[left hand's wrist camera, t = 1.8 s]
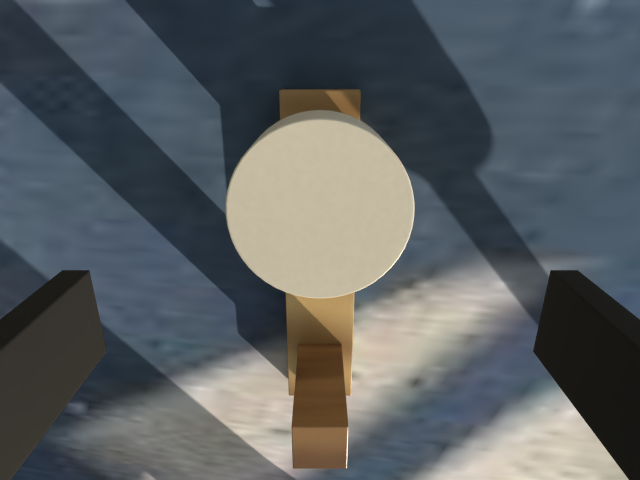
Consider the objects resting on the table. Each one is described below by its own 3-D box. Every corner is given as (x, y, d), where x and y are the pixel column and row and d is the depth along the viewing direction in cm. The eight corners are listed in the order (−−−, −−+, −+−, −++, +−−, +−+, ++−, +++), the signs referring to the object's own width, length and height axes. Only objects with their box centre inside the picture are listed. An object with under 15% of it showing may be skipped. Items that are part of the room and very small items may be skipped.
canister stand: (274, 88, 34) (252, 99, 23) (365, 88, 34) (387, 99, 23) (285, 381, 44) (273, 488, 33) (354, 381, 44) (366, 488, 33)
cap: (406, 109, 23) (422, 118, 19) (395, 266, 26) (407, 298, 22) (233, 109, 23) (217, 118, 19) (244, 266, 26) (232, 298, 22)
